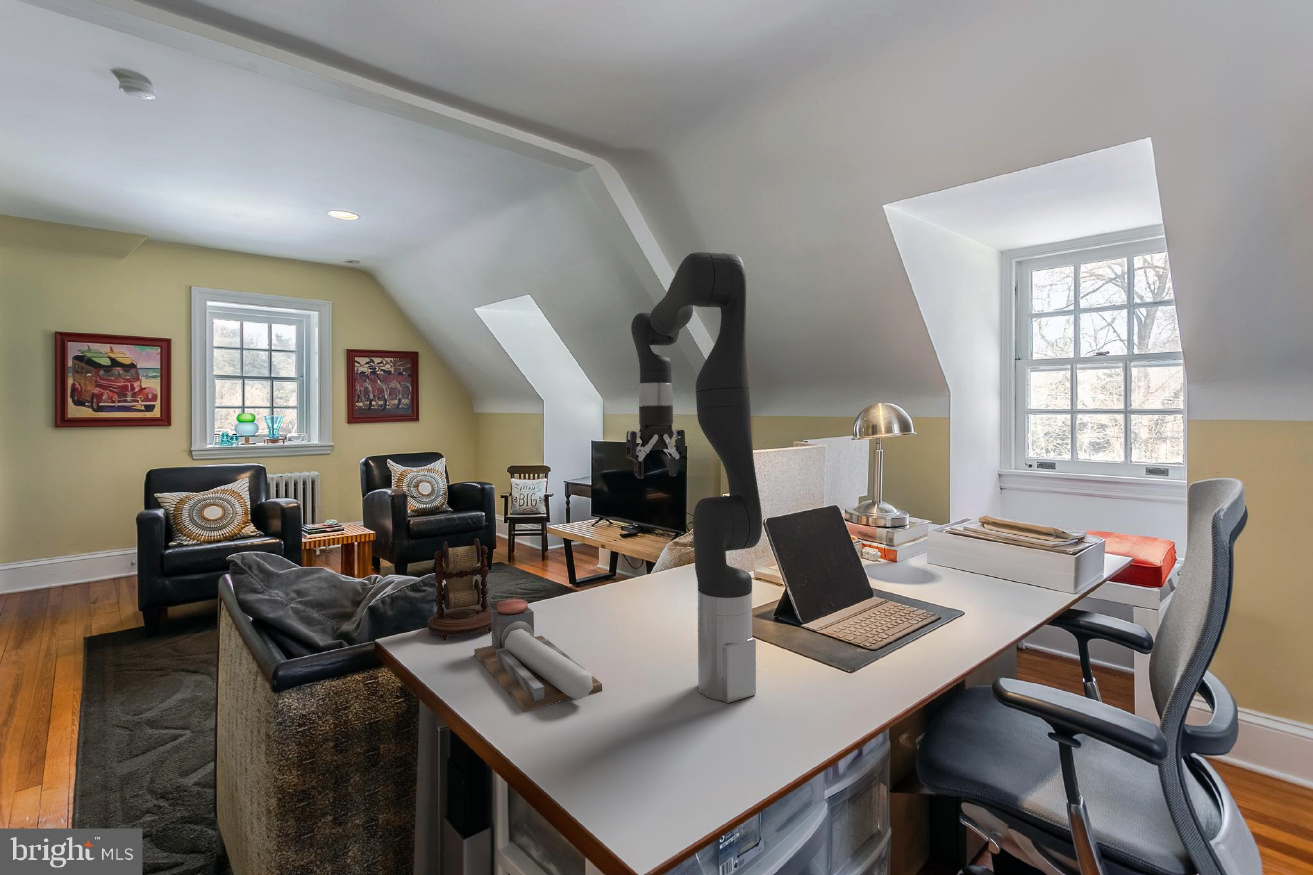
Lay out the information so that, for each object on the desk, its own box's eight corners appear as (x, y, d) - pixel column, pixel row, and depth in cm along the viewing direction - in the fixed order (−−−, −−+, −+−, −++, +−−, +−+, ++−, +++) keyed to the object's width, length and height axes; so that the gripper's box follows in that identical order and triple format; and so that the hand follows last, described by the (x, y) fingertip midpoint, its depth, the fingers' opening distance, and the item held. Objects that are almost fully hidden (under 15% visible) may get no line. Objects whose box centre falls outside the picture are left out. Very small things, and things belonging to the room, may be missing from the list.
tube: (602, 672, 105) (533, 630, 125) (575, 670, 102) (508, 627, 121) (594, 705, 104) (525, 657, 124) (566, 704, 101) (500, 655, 121)
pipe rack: (602, 690, 110) (601, 634, 109) (523, 711, 103) (522, 651, 102) (540, 640, 134) (540, 594, 134) (473, 654, 127) (472, 605, 126)
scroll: (488, 615, 151) (486, 531, 150) (505, 634, 138) (503, 542, 137) (422, 625, 144) (420, 537, 143) (433, 646, 131) (431, 550, 130)
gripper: (673, 404, 149) (674, 473, 149) (619, 404, 141) (620, 477, 142) (692, 403, 142) (692, 476, 143) (636, 403, 135) (637, 480, 136)
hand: (656, 477), depth 143 cm, fingers open, 8 cm apart
